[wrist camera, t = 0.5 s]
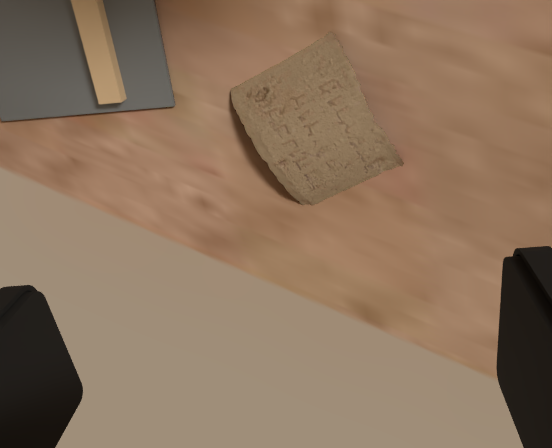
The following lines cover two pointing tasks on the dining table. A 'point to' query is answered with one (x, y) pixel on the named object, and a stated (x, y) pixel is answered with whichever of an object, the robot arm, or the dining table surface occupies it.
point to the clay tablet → (314, 123)
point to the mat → (80, 58)
